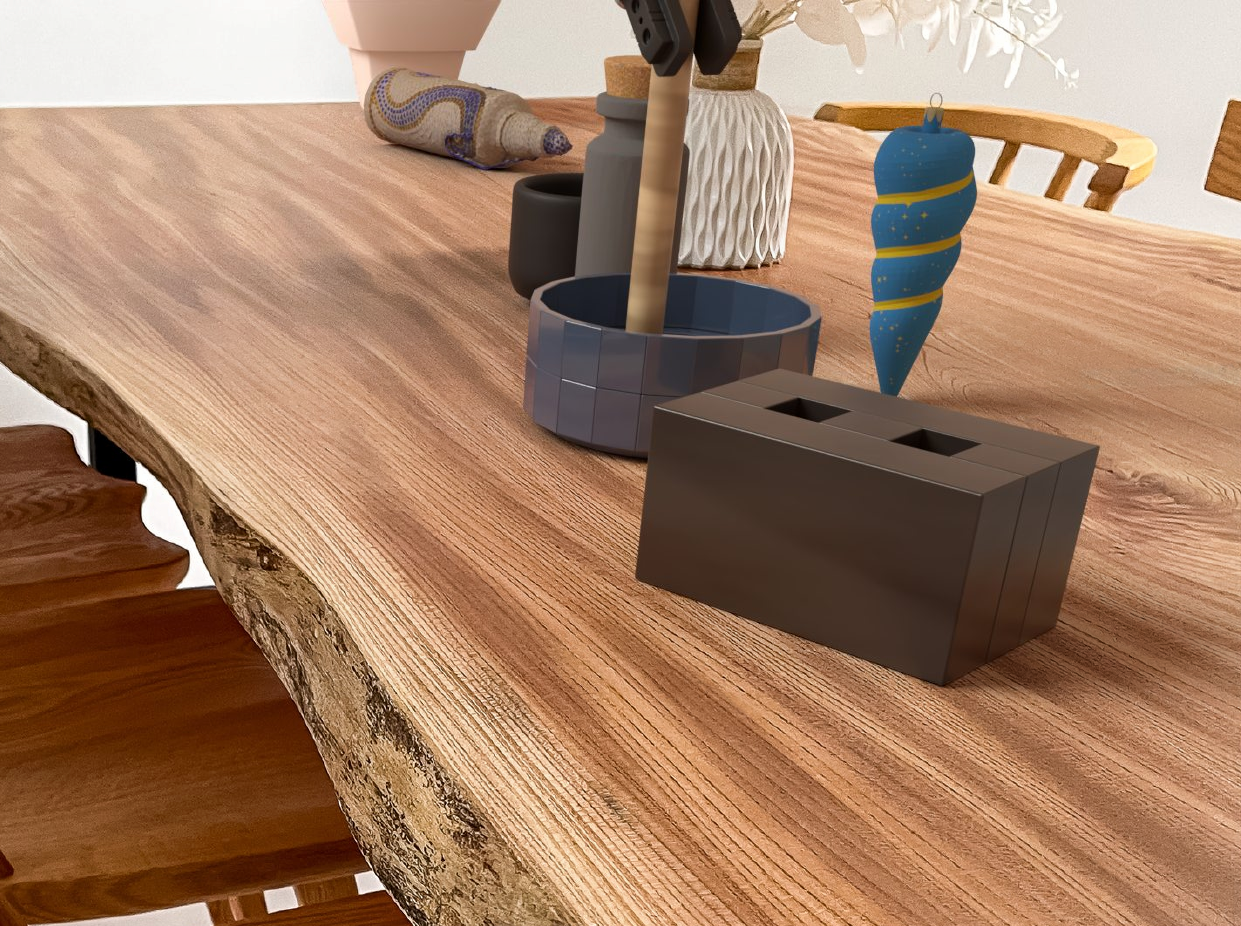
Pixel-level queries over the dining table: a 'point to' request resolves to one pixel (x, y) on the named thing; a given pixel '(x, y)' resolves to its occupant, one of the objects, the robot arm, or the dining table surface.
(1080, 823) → the dining table surface
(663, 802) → the dining table surface
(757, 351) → the mixing bowl
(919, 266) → the ornament
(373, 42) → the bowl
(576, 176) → the mug
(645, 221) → the stirring stick
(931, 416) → the utensil block
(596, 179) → the bottle
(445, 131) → the decorative bottle
